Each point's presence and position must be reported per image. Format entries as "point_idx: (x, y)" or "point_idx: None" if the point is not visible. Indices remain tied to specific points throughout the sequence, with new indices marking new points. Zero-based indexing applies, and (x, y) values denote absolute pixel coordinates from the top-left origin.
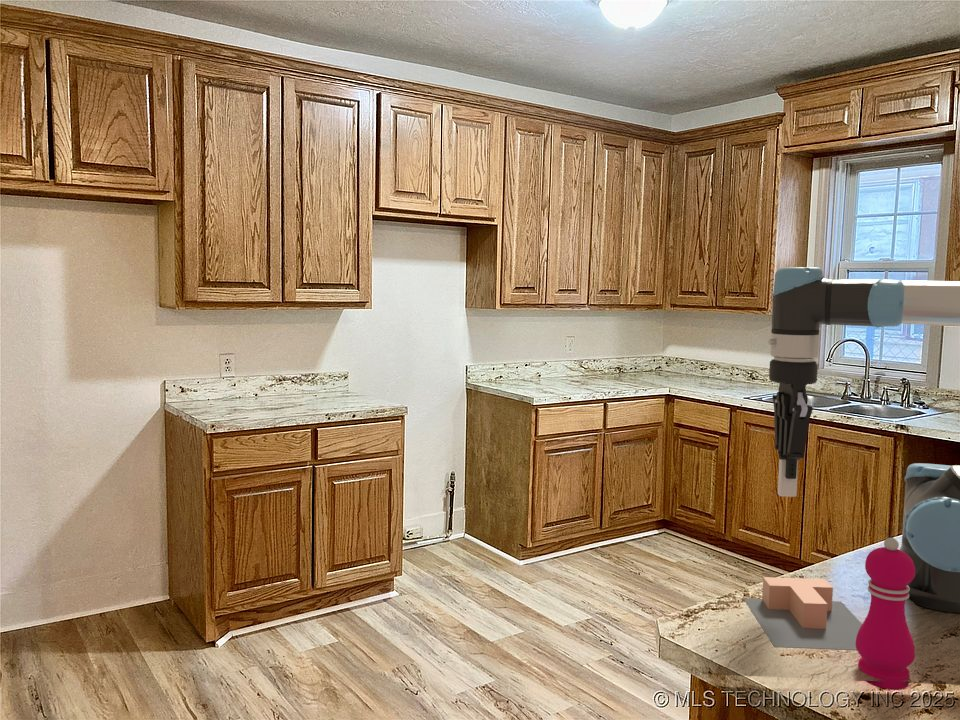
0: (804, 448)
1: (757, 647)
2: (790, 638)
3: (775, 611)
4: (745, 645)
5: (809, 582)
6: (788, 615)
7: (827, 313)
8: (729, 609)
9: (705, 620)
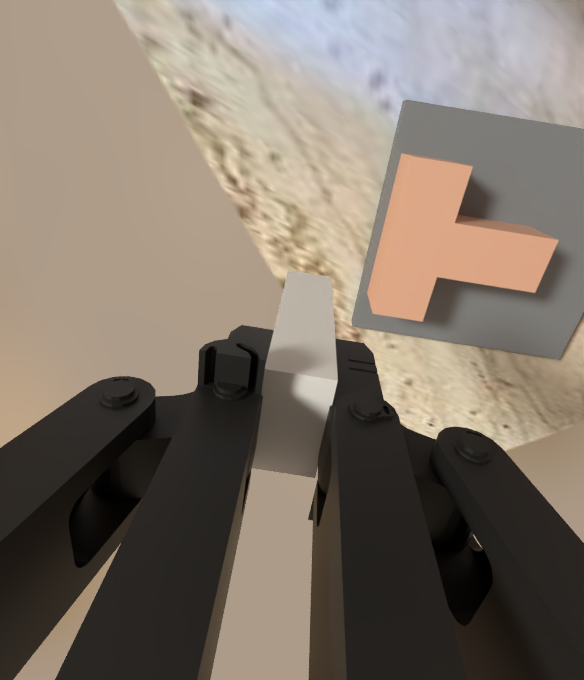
0: (564, 529)
1: (518, 366)
2: (541, 319)
3: None
4: (505, 381)
5: (426, 215)
6: None
7: None
8: None
9: (402, 405)
